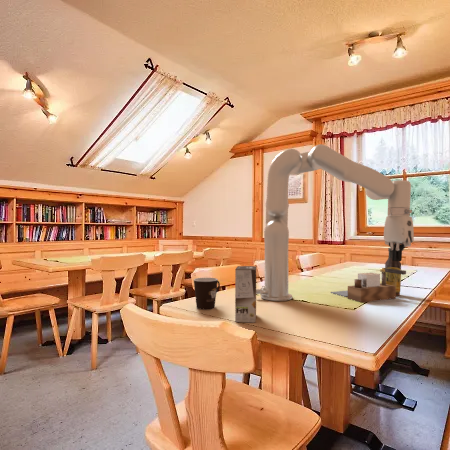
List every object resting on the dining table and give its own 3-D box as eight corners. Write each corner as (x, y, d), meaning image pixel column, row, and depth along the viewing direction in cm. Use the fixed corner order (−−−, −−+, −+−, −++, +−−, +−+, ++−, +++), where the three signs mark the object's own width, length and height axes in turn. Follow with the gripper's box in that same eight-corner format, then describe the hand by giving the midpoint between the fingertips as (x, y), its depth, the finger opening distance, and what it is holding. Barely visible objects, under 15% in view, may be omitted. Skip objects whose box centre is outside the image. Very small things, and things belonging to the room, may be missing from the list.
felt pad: (345, 297, 133) (345, 296, 133) (330, 292, 142) (330, 292, 142) (367, 294, 138) (367, 293, 138) (352, 290, 146) (352, 290, 146)
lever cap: (366, 287, 127) (366, 275, 127) (357, 285, 131) (357, 273, 131) (380, 286, 130) (380, 274, 130) (371, 284, 134) (371, 272, 134)
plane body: (360, 302, 124) (360, 275, 124) (347, 298, 131) (347, 273, 131) (395, 298, 131) (395, 273, 131) (381, 295, 137) (381, 270, 137)
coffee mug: (199, 311, 111) (199, 282, 111) (190, 306, 118) (190, 278, 118) (229, 307, 116) (229, 279, 116) (218, 302, 124) (218, 276, 124)
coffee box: (256, 323, 98) (256, 269, 98) (234, 322, 98) (234, 269, 98) (256, 314, 107) (256, 265, 107) (236, 314, 108) (236, 265, 108)
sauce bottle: (384, 295, 136) (384, 248, 136) (383, 292, 142) (383, 247, 142) (402, 297, 134) (402, 248, 134) (400, 294, 140) (400, 247, 140)
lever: (407, 274, 126) (407, 270, 126) (402, 274, 125) (402, 271, 125) (382, 270, 135) (382, 267, 135) (378, 271, 134) (378, 268, 134)
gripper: (423, 213, 119) (421, 263, 119) (389, 213, 133) (387, 258, 133) (408, 212, 117) (406, 263, 117) (375, 212, 130) (373, 258, 131)
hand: (396, 260), depth 125 cm, fingers closed
